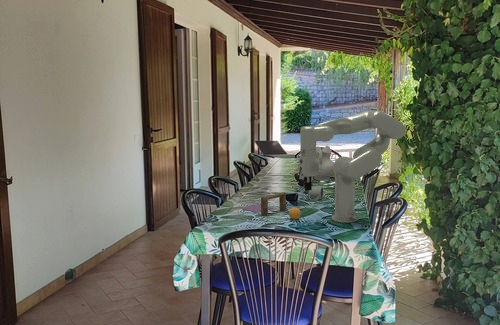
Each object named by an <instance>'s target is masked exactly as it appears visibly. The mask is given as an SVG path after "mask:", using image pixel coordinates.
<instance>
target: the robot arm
mask: <svg viewBox="0 0 500 325" xmlns="http://www.w3.org/2000/svg"><path fill="white" fill-rule="evenodd" d="M372 128H374V129H376V134H375V137H374V138H373V139H371V140H370V141H369V142H367V143H366V144H363V145H362V146H360V147H358V148H357V149H356V150H355V151H354V152H353V154H352V157H349V156H340V157H338V158H337V159H335V161H334V174H333V175H334V188H335V189H334V214H333V215H332V216H331V220H332V221H334V222H337V223H345V224H346V223H355V222H357V221H359V219H360V218H361V215H359V214H357V211H356V210H355V200H356V199H355V195H356V190H355V189H356V183H355V180H358V179H360V178H361V177H363V176H366V175H367V174H368V173H370V172H371V171H373V170H375V169H377V168H378V167H379V166H380V164H381V163H382V161H383V160H382V159H383V154H384V153H386V151H387V150H389V146H390V142H391V140H400V139H402V138H403V137H404V136H405V134H406V127H405V125H404V123H403V122H402V121H400V120H398V119H397V118H394V117H393V116H391V115H390V114H388V113H386V112H385V111H382V110H375V109H372V110H371V109H370V110H366V111H362V112H358V113H356V114H352V115H349V116H345V117H340V118H336V119H333V120H327V121H324V122H321V123H317V124H315V125H313V126H311V125H310V126H309V125H306V126H305V125H304V126H302V127H301V128H300V133H299V134H300V146H299V147H300V151H299V154H300V155H299V158H298V168H297V169H298V170H297V171H298V176H299V180H302V181H303V182H304V190H305V191H307V192H308V191H310V190H312V187H313V186H312V185H313V184H312V183H313V181H314V180H315V179H314V178H315V177H316V176H317V175H318V174H319V162H318V156H317V155H316V147H317V142H323V143H324V142H325V143H326V142H327V143H328V142H330V141H331V140H333V139H334V138H335V137H334V136H338V135H353V134H355V133H357V132H361V131H365V130H367V129H372Z"/></svg>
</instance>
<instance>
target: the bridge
mask: <svg viewBox="0 0 500 325" xmlns="http://www.w3.org/2000/svg"><path fill="white" fill-rule="evenodd" d="M277 198H279V212H283V213H284V212H286V211H287V194H286V193H284V192H279V193H275V194H270V195H266V196H265V195H264V196H261V197H260V204H261V211H260V216H263V217H267V216H269V211H268V207H269V206H268V205H269V204H268V202H269V200H272V199H277Z"/></svg>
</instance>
